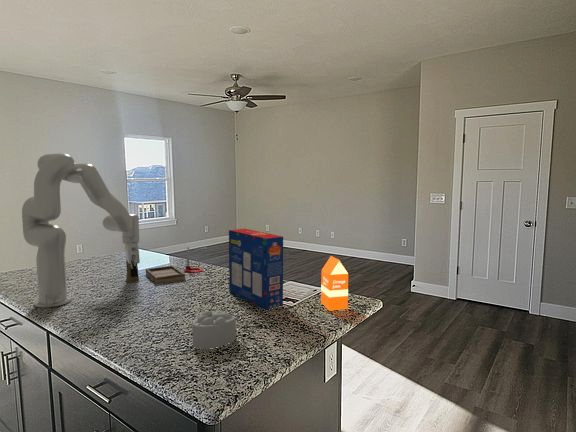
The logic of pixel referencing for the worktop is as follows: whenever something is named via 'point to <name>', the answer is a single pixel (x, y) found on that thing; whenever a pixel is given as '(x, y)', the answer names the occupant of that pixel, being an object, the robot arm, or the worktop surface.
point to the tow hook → (191, 267)
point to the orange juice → (334, 285)
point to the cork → (128, 277)
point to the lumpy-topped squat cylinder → (213, 329)
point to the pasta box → (256, 267)
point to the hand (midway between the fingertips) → (132, 274)
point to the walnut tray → (165, 274)
